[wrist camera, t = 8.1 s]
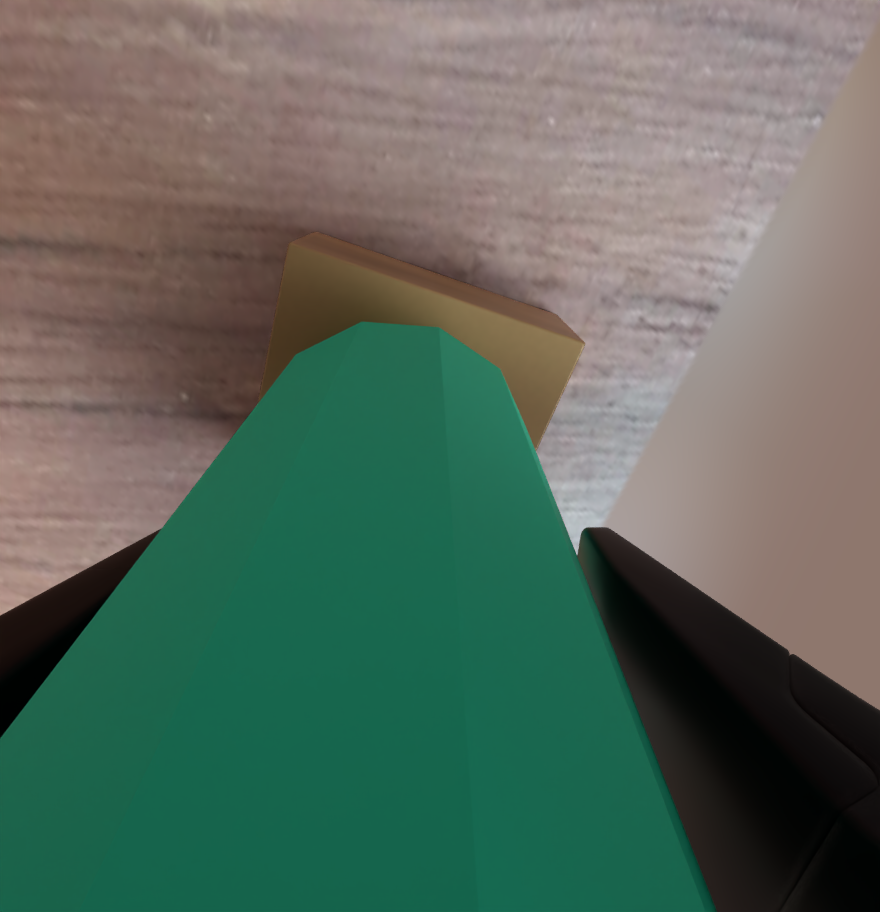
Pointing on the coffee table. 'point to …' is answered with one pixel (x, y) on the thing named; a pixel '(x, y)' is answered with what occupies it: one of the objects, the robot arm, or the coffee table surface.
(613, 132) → the coffee table surface
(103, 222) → the coffee table surface
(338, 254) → the maple block
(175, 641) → the candle
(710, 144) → the coffee table surface
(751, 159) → the coffee table surface
